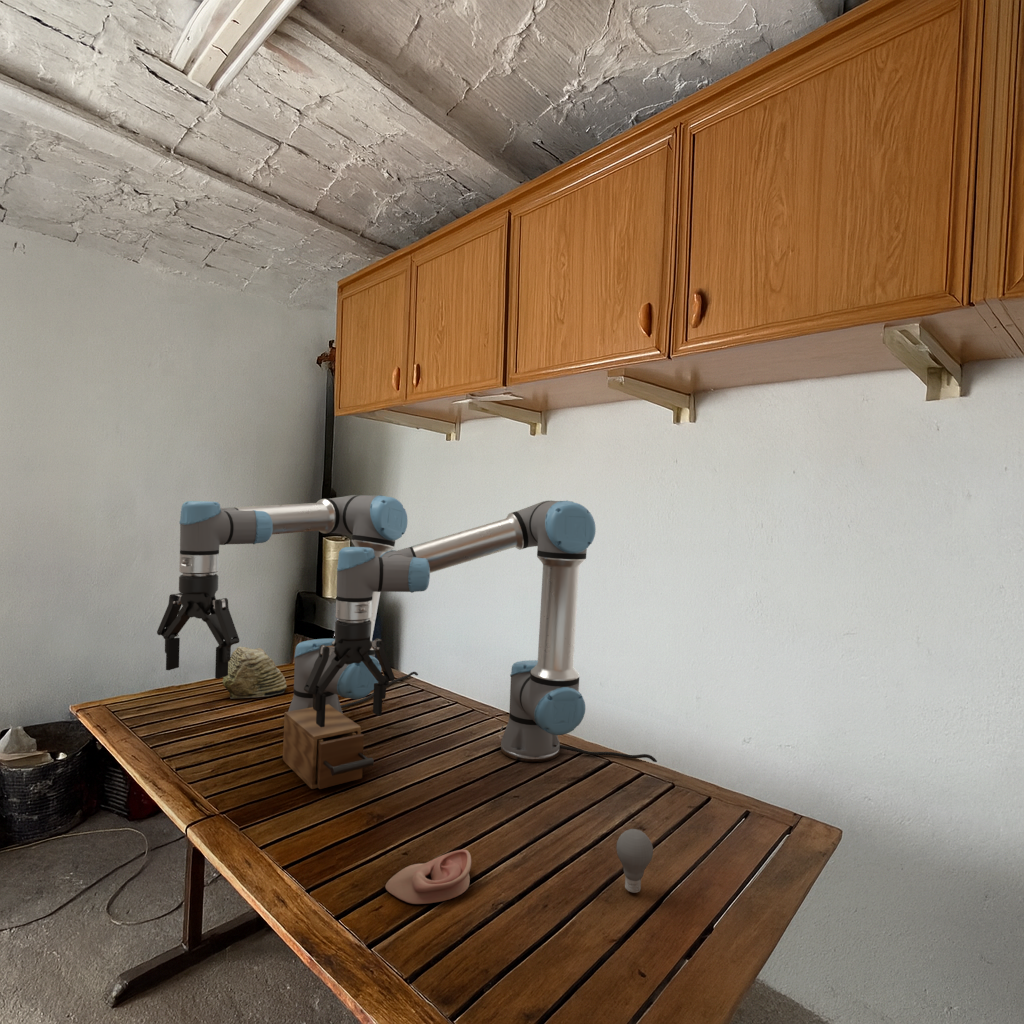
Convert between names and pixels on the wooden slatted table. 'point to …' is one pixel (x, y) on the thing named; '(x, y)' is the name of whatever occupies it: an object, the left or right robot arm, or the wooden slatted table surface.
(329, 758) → the drawer
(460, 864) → the anatomical model
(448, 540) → the right robot arm
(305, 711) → the cabinet
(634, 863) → the light bulb
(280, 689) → the fossil
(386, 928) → the wooden slatted table surface
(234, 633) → the left robot arm
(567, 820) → the wooden slatted table surface
